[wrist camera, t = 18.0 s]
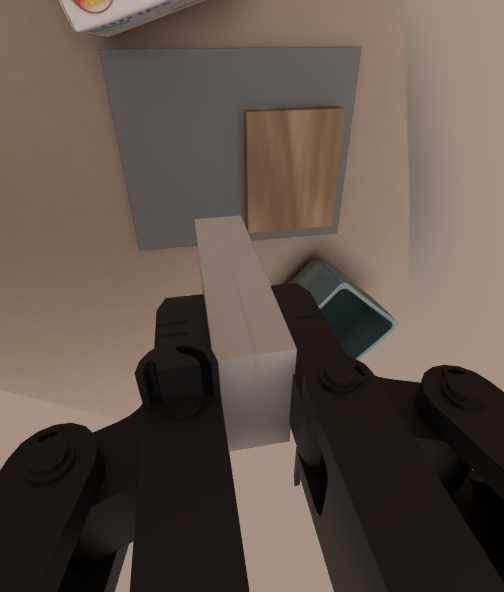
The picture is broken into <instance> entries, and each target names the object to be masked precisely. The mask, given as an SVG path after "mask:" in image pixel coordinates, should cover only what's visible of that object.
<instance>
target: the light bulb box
mask: <svg viewBox="0 0 504 592" xmlns="http://www.w3.org/2000/svg"><path fill="white" fill-rule="evenodd" d="M204 1H207V0H59V2H60V5H61V7H62V9H63V11H64V13H65V15H66V16H67V18H68V20H69V22H70V24H71V26H72V28H73V30H74V31H75V32H82V33H87V34H92V35H97V36H101V37H105V38H107V37H110V36H114V35H117V34H119V33H122V32H124V31H127V30H130V29H132V28H135V27H138V26H140V25H143V24H146V23H148V22H151V21H153V20H156V19H159V18H161V17H164V16H167V15H169V14H172V13H175V12H177V11H180V10H183V9H185V8H188V7H191V6H193V5H196V4H199V3H201V2H204Z"/></svg>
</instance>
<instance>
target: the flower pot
mask: <svg viewBox="0 0 504 592" xmlns="http://www.w3.org/2000/svg"><path fill="white" fill-rule="evenodd" d="M291 283H298V284H299V285H301V286H302V287H304V288H305V289H306V290H308V291H309V292H311V294H312V296H313V298H314V299H315V301H316V303H317V306H318V307H319V308H320V310H321V311H322V313H323V317H325V318H326V320H327V322H328V324H329V325H330V327H331V329H332V330H333V332H334V334H335V336H336V337H337V339H338V341H339V343H340V344H341V346H342V348H343V350H344V351H345V353H346V355H347V356H349V357H353V358H355V359H357V360H359V359H360V358H361V357H363V356H364V355H365V354H366V353H367V352H368V351H370V350H371V349H372V348H373V347H374V346H376V345H377V344H378V343H379V342H380V341H381V340H382V339H383V338H385V337H386V336H388V335H389V334H390V333H391V332H392V331H393V330H394V329H395V328H396V327H397V326H398V322H397V321H396V320H395V319H394V318H393V317H392V316H391V315H390V314H389V313H388V312H387V311H386V310H385V309H384V308H383V307H382V306H380V305H379V304H378V303H377V302H376V301H375V300H374V299H373V298H372V297H371V296H370V295H368V294H367V293H366V292H364V291H363V290H362V289H360V288H359V287H358V286H357V285H355V284H354V283H353V282H352V281H350V280H349V279H348V278H346V277H345V276H344V275H343V274H341V273H340V272H339V271H337V270H336V269H335V268H334V267H332V266H331V265H330V264H328V263H327V262H325V261H323V260H319V259H317V260H312V261H310V262H309V263H308V264H307V265H306V266H305V267H304V268H303V269H302V270H301V271H300V272H299V273H298V275H297V276H296V277H295V278H294V279H293V280H292V281H291V282H290V283H289V284H291Z"/></svg>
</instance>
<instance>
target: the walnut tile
mask: <svg viewBox="0 0 504 592" xmlns="http://www.w3.org/2000/svg"><path fill="white" fill-rule="evenodd" d="M344 115H345V108H342V107H339V106H336V105H319V106H290V107H261V108H242V149H243V193H244V224H245V226H246V228H247V231H248V233H254V232H266V231H278V230H290V229H302V228H314V227H325V226H331V224H332V215H333V207H334V199H335V190H336V182H337V174H338V165H339V157H340V149H341V140H342V132H343V124H344Z"/></svg>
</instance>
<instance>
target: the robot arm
mask: <svg viewBox="0 0 504 592" xmlns="http://www.w3.org/2000/svg"><path fill="white" fill-rule="evenodd" d="M195 227H196V237H197V246H198V256H199V266H200V275H201V285H202V294H201V295H191V296H182V297H173V298H165V300H164V301H163V303H162V304H161V305H160V307H159V308H158V310H157V313H156V329H155V345H154V349H153V350H151V351H149V352H148V353H147V354H146V355H145V356H144V357H143V358H142V359H141V360H140V361H139V363H138V366H137V369H136V371H135V377H136V381H137V384H138V388H139V392H140V395H141V399H142V403H143V404H142V405H141V406H140V408H139V409H137V410H136V411H135V412H134V413H132V414H131V415H130V416H128V417H126V418H124V419H122V420H121V421H119V422H117V423H114V424H112V425H110V426H107V427H105V428H103V429H100V430H98V431H96V432H93V433H92V432H91V431H90V430H89V429H88V428H87V427H86V426H83V425H78V424H74V423H67V424H58V425H53V426H51V427H49V428H46V429H44V430H41V431H39V432H37V433H35V434H34V435H33V436H31V437H30V438H28V439H27V440H25V441H24V442H23V443H21V444H20V445H19V447H18V448H17V449H16V450H15V452H14V453H12V455H11V456H10V457H9V458H8V460H7V461H6V463H5V464H4V466H3V467H2V469H1V470H0V592H115V589H116V585H117V582H118V579H119V575H120V572H121V569H122V565H123V562H124V559H125V555H126V552H127V549H128V545H129V544H130V543H131V542H133V541H134V543H133V556H132V569H131V582H130V583H131V584H130V592H249V585H248V579H247V572H246V565H245V558H244V551H243V544H242V537H241V531H240V524H239V517H238V510H237V503H236V496H235V490H234V482H233V475H232V468H231V462H230V455H229V451H234V450H241V449H247V448H253V447H258V446H264V445H270V444H275V443H282V442H288V441H290V429H291V430H292V433H293V436H294V439H295V442H296V445H297V447H296V458H295V469H294V485H295V486H297V485H300V479H301V482H302V486H303V489H304V492H305V495H306V499H307V502H308V506H309V509H310V512H311V516H312V519H313V523H314V526H315V529H316V533H317V536H318V539H319V543H320V546H321V549H322V553H323V556H324V559H325V563H326V566H327V569H328V573H329V576H330V580H331V583H332V586H333V589H334V592H504V392H503V391H502V390H500V389H499V388H498V387H496V386H495V385H494V384H492V383H491V382H490V381H488V380H487V379H485V378H483V377H482V376H480V375H479V374H477V373H475V372H473V371H470V370H467V369H465V368H462V367H459V366H450V365H441V366H436V367H432V368H431V369H429V370H428V371H426V372H425V373H424V375H423V378H422V381H421V383H419V382H410V381H402V380H393V379H387V378H381V377H377V376H375V375H374V374H373V373H372V371H370V369H369V368H368V367H367V366H366V365H365V364H364V363H362V362H360V361H358V360H357V359H355V358H353V357H349V356H347V355H346V353H345V351H344V350H343V348H342V346H341V344H340V343H339V341H338V339H337V337H336V336H335V334H334V332H333V330H332V329H331V327H330V325H329V324H328V322H327V320H326V318H325V317H323V313H322V311H321V310H320V308H319V307H318V306H317V303H316V301H315V299H314V298H313V296H312V294H311V292H309V291H308V290H306V289H305V288H304V287H302V286H301V285H299V284H298V283H291V284H282V285H273V286H270V284H269V282H268V279H267V277H266V275H265V272H264V270H263V268H262V265H261V263H260V260H259V258H258V256H257V253H256V251H255V249H254V246H253V244H252V241H251V239H250V237H249V234H248V232H247V229H246V227H245V225H244V222H243V220H242V218H241V216H229V217H216V218H203V219H195ZM472 469H473V470H474V471H475V472H474V471H473V470H472Z"/></svg>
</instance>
